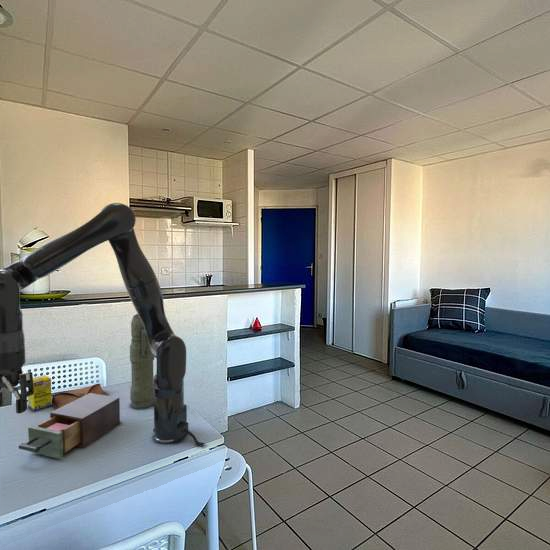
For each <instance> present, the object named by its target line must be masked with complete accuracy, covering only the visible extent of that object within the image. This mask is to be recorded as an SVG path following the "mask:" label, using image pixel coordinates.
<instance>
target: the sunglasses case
mask: <svg viewBox="0 0 550 550" xmlns="http://www.w3.org/2000/svg"><path fill="white" fill-rule="evenodd" d="M89 393H93V394H99V395H105V396H108V395H107V394H106V393H105V391H104V389H103V388H102V386H101V383H95V384H93V385H89V386H84V387H81V388H76V389H72V390H68V391H65V392H59V393H55V394H54V395H52V396H51V401H52V407H53V408H55V410H56V409H58V408H60V407H62V406H65V405H67V404H69V403H71V402H73V401H75V400H77V399H79V398H81V397H83V396H85V395H87V394H89Z"/></svg>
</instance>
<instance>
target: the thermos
mask: <svg viewBox="0 0 550 550" xmlns="http://www.w3.org/2000/svg"><path fill="white" fill-rule="evenodd" d="M130 335H131V340H130V346H129V361H130V364H131V365H130V366H131V385H130V391H129V393H130V396H129V397H130V407H131V408H132V409H135V410H142V409H143V410H144V409H148V408H151V407H153V406H154V361H155V357H154V356H153V354H152V352H151V349H150V345H149V341H148V338H147V334H146V331H145V328H144V325H143V323H142V321H141V319H140V317H139V315H138V313H136V314H135V315H133V317H132V319H131V322H130Z"/></svg>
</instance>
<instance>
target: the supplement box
mask: <svg viewBox="0 0 550 550" xmlns="http://www.w3.org/2000/svg"><path fill="white" fill-rule="evenodd" d="M33 387H34V394H33V395H30V396H28V397H27V407H28V408H29V409H31V410H32V411H33V412H37V411H39V410H44V409H46V408H50V407H53V405H52V378H51V377H49V376H48V375H46V374H44V375H39V376H36V377H33ZM27 391H29V390H28V389H27Z"/></svg>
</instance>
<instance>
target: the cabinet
mask: <svg viewBox="0 0 550 550" xmlns="http://www.w3.org/2000/svg"><path fill="white" fill-rule="evenodd" d="M105 395H106V394H105ZM105 395H99V394H93V393H89V394H87V395H85V396H83V397H81V398H79V399H77V400H75V401H73V402H71V403H69V404H67V405H65V406H62V407H60V408H58V409H56V408H55V410H53V411H50V412H49V415H50V416H49V419H50V418H52V417H54V416H59V417H64V418H69V419H74V420H80V421H81V443H79V444H78V445H76V446H75V447H79V448H82V449H83V448H85V447H87V446H88V445H90V444H91V443H93V442H94V441H96V440H97V439H98V438H100V437H101V436H103V435H105V434H106V433H107V432H109V431H111V430H112V429H114V428H115V427H117V426H118V425H120V424H121V403H120V400H121V399H120V397H118V396H111V395H107V396H105Z"/></svg>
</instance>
